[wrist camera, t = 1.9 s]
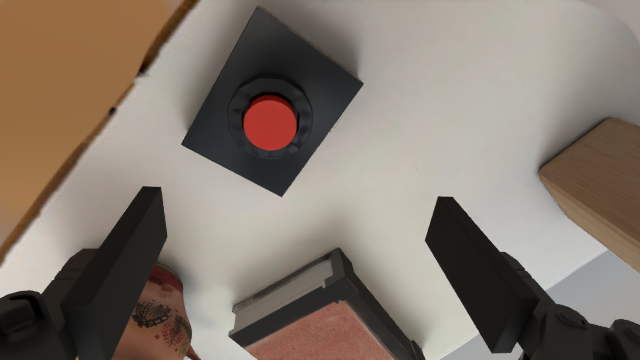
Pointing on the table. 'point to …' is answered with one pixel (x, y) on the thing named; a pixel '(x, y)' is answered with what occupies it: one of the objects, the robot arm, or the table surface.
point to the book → (320, 318)
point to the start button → (270, 122)
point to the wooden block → (602, 186)
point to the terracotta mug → (158, 322)
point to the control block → (271, 79)
